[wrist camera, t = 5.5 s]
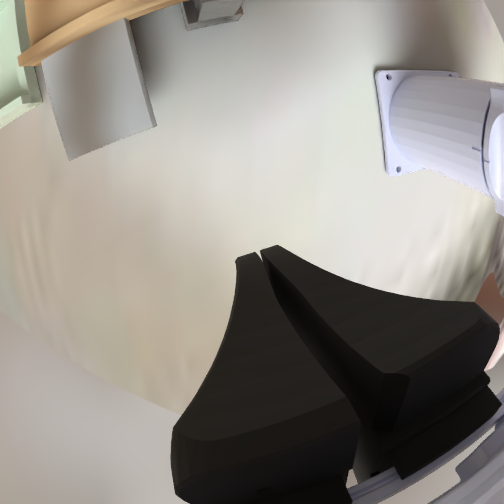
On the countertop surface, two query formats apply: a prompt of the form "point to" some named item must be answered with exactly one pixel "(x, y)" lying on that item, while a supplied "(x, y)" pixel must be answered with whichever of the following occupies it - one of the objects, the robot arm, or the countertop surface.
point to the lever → (91, 68)
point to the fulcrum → (210, 12)
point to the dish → (15, 64)
